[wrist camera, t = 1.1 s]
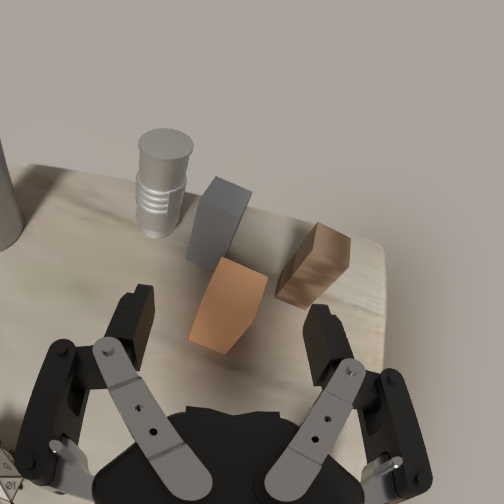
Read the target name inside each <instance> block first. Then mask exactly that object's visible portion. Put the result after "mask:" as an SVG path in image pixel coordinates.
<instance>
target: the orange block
mask: <svg viewBox="0 0 504 504" xmlns="http://www.w3.org/2000/svg"><path fill="white" fill-rule="evenodd" d="M267 280H268V277H267V276H265V275H263V274H261V273H258V272H256V271H254V270H251V269H249V268H247V267H245V266H242V265H240V264H238V263H235V262H233V261H231V260H229V259H226V258H224V257H221V259H220V261H219V263H218V266H217V268H216V270H215V272H214V274H213V276H212V278H211V281H210V283H209V285H208V287H207V289H206V291H205V294H204V296H203V298H202V301H201V304H200V306H199V309H198V312H197V315H196V318H195V321H194V324H193V327H192V329H191V332H190V335H189V338H188V340H190V341H193V342H195V343H197V344H200V345H202V346H204V347H207V348H209V349H211V350H214V351H216V352H219V353H221V354H223V355H226V353H227V352H228V351H229V350H230V349H231V348H232V346H233V345H234V344H235V343H236V342H237V340H238V339H239V338H240V337H241V336H242V335H243V333H244V332H245V331H246V330H247V329H248V327H249V326H250V325H251V324H252V323H253V321H254V320H255V317H256V314H257V311H258V308H259V305H260V302H261V299H262V296H263V293H264V289H265V286H266V283H267Z"/></svg>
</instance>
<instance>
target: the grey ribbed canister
mask: <svg viewBox="0 0 504 504" xmlns="http://www.w3.org/2000/svg"><path fill="white" fill-rule="evenodd" d="M138 145H139V149H140V159H139V171H138V173H137V176H136V197H135V198H136V203H137V208H136V219H137V221H138V225H139V229H140V231H141V232H142V233H143V234H144V235H146V236H147V237H150V238H155V239H159V238H164V237H167V236H169V235H170V234H171V233H172V232H173V231H174V229H175V225H176V224H177V223H178V221H179V216H180V207H181V205H182V203H183V197H184V192H185V186H186V181H187V178H186V175H185V174H186V169H187V165H188V160H189V155H190V154H191V153H192V151H193V145H194V144H193V142H192V140H191V138H190V137H189V136H187V135H186V134H184V133H182V132H180V131H177V130H172V129H155V130H152V131H149V132H147V133H145V134H144V135H142V136H141V138H140V140H139V144H138Z"/></svg>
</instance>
